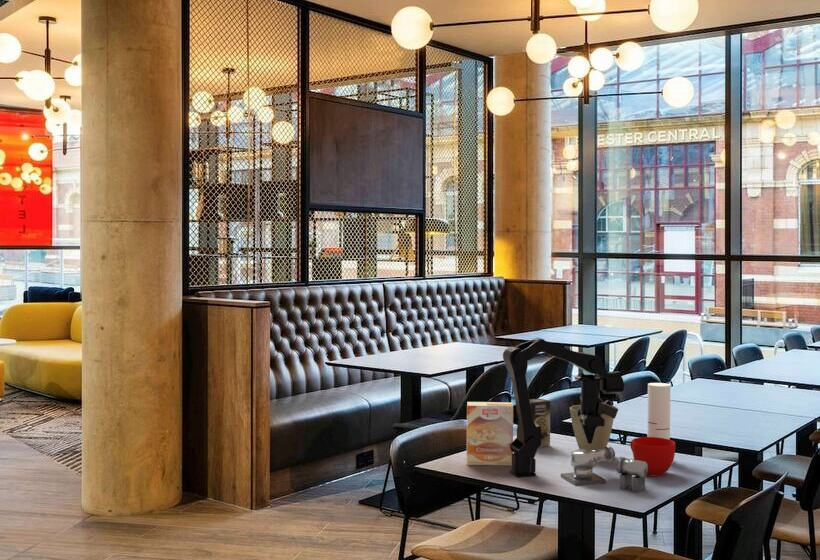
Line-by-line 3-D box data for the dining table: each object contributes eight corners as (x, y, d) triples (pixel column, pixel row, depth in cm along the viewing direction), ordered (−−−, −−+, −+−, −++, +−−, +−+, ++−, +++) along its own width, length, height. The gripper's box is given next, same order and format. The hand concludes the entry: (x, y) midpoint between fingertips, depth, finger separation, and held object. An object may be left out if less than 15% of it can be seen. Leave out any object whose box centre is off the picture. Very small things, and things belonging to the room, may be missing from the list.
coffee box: (530, 448, 306) (530, 402, 306) (519, 445, 312) (519, 399, 311) (550, 445, 311) (551, 400, 310) (539, 442, 316) (540, 397, 316)
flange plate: (575, 485, 260) (575, 471, 260) (560, 476, 269) (560, 463, 269) (605, 482, 262) (606, 469, 262) (590, 474, 272) (590, 461, 272)
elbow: (583, 470, 261) (583, 455, 260) (565, 465, 267) (566, 450, 266) (618, 462, 269) (618, 448, 269) (600, 458, 275) (600, 444, 275)
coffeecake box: (466, 465, 284) (466, 405, 283) (466, 459, 291) (466, 401, 290) (513, 465, 283) (513, 405, 282) (512, 460, 290) (512, 401, 289)
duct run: (616, 488, 256) (616, 458, 256) (623, 485, 260) (624, 455, 260) (640, 493, 251) (640, 462, 251) (647, 489, 255) (648, 459, 255)
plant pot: (612, 450, 304) (613, 404, 303) (616, 461, 289) (616, 412, 288) (568, 449, 306) (569, 403, 305) (570, 459, 291) (570, 411, 290)
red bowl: (647, 463, 285) (647, 433, 285) (684, 476, 270) (684, 443, 270) (615, 468, 280) (615, 436, 279) (650, 481, 265) (651, 448, 264)
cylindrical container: (652, 456, 295) (653, 382, 294) (673, 459, 291) (673, 384, 290) (643, 460, 290) (644, 384, 289) (664, 463, 285) (665, 386, 284)
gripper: (621, 399, 267) (621, 450, 268) (610, 389, 286) (610, 437, 286) (584, 399, 267) (584, 450, 268) (576, 389, 286) (575, 436, 287)
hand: (589, 443), depth 277 cm, fingers closed
